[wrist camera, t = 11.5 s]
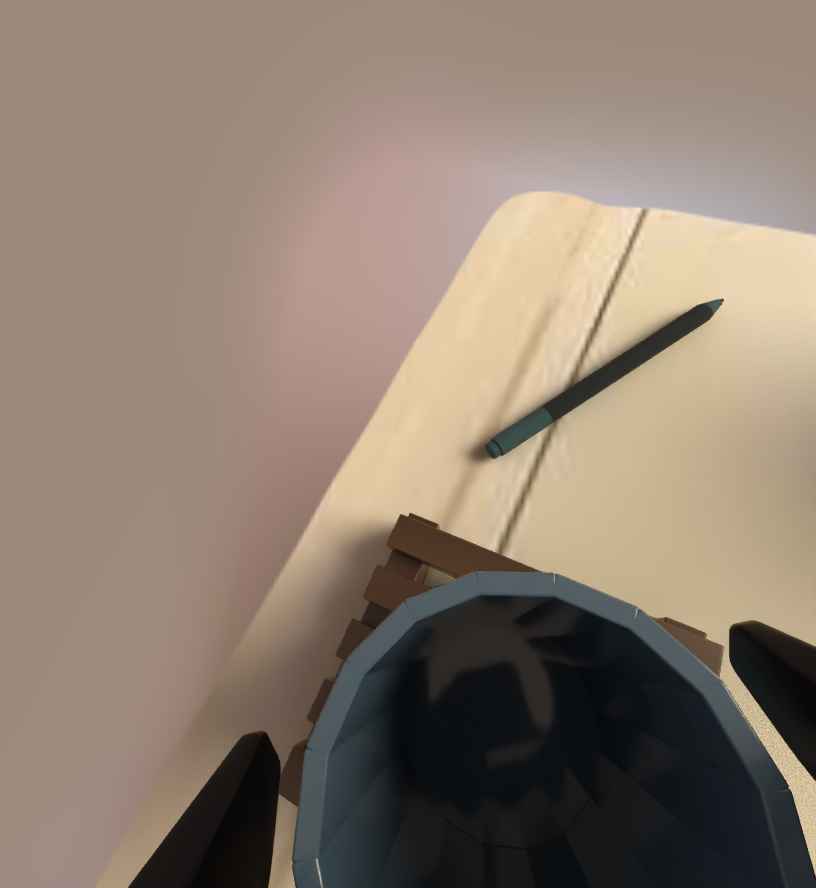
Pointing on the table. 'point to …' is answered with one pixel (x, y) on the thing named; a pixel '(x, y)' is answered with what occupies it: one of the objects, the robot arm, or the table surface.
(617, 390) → the table surface
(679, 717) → the cup
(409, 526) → the rack
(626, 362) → the pen
